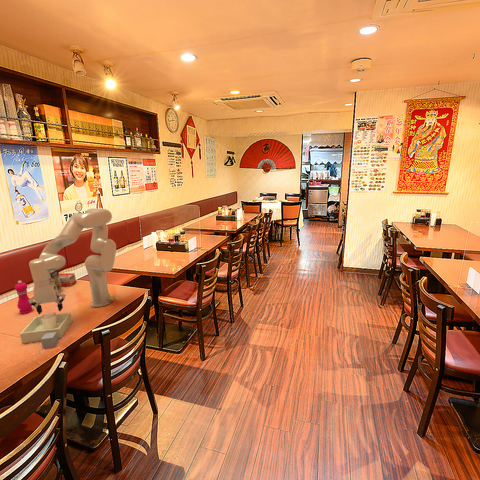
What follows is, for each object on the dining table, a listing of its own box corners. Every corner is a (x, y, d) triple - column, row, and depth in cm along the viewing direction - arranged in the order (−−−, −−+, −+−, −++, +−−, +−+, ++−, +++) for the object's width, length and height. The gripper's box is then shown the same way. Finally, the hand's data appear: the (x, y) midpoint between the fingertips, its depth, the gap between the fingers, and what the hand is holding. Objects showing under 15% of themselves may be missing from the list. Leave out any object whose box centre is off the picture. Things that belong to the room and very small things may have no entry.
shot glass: (47, 331, 147) (44, 319, 146) (40, 328, 151) (38, 316, 149) (60, 325, 153) (58, 314, 151) (54, 322, 157) (52, 311, 155)
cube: (58, 340, 140) (56, 331, 139) (54, 346, 136) (52, 337, 135) (47, 342, 139) (45, 333, 138) (42, 348, 135) (40, 339, 133)
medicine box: (49, 287, 206) (47, 277, 204) (56, 283, 214) (54, 273, 212) (70, 287, 206) (69, 276, 204) (76, 282, 214) (75, 272, 212)
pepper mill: (25, 315, 166) (18, 283, 162) (15, 314, 168) (8, 282, 163) (36, 309, 173) (30, 278, 168) (27, 308, 175) (20, 278, 170)
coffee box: (54, 296, 191) (49, 273, 187) (44, 296, 191) (40, 274, 187) (62, 290, 200) (58, 269, 196) (53, 290, 200) (49, 269, 196)
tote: (72, 321, 159) (70, 312, 157) (61, 338, 142) (59, 328, 141) (37, 325, 155) (35, 316, 153) (22, 343, 139) (19, 333, 137)
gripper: (64, 277, 151) (70, 305, 156) (27, 281, 148) (35, 310, 152) (58, 282, 144) (66, 312, 149) (20, 287, 141) (29, 317, 145)
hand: (50, 311), depth 151 cm, fingers open, 9 cm apart
